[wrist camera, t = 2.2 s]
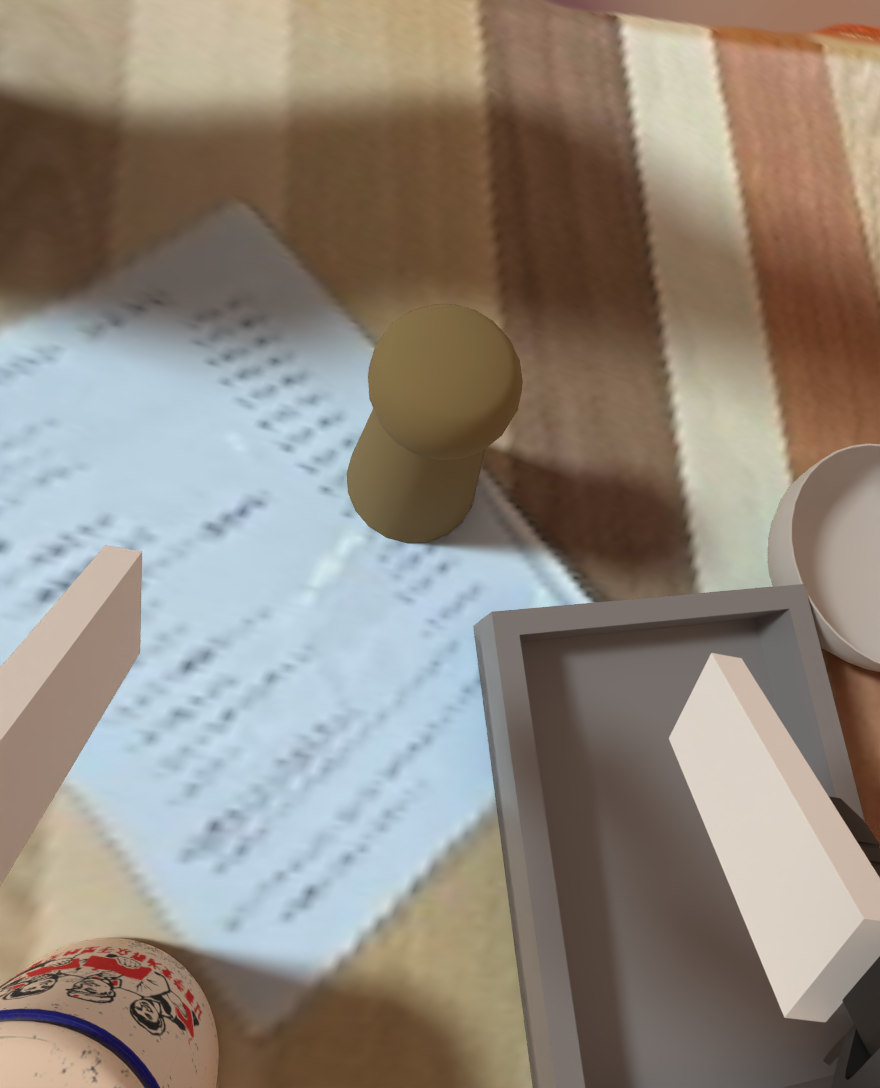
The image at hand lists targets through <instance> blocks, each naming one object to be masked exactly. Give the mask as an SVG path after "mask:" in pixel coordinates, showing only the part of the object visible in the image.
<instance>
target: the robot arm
mask: <svg viewBox="0 0 880 1088" xmlns="http://www.w3.org/2000/svg"><path fill="white" fill-rule="evenodd" d="M141 581H142V552H141V551H135V550H130V549H124V548H118V547H113V546H107V545H105V546H104V547H103V549H102V550H101V551H100V552H99V553H98V554H97V556H96V557H95V558H94V559H93V560H92V561H91V563H90V564H89V565H88V566H87V567H86V568H85V570H84V571H83V572H82V573H81V574H80V575H79V577H78V578H77V579H76V580H75V581H74V582H73V584H72V585H71V586H70V587H69V588H68V589H67V591H66V592H65V593H64V594H63V595H62V596H61V598H60V599H59V600H58V601H57V602H56V603H55V605H54V606H53V607H52V608H51V609H50V610H49V612H48V613H47V614H46V615H45V616H44V617H43V619H42V620H41V621H40V622H39V623H38V624H37V626H36V627H35V628H34V629H33V630H32V631H31V632H30V634H29V635H28V636H27V637H26V638H25V639H24V641H23V642H22V643H21V644H20V645H19V646H18V648H17V649H16V650H15V651H14V652H13V653H12V655H11V656H10V657H9V658H8V659H7V660H6V662H5V663H4V664H3V665H2V666H1V667H0V886H1V884H2V883H3V881H4V879H5V878H6V876H7V874H8V873H9V871H10V869H11V868H12V866H13V864H14V863H15V861H16V859H17V858H18V856H19V854H20V853H21V851H22V849H23V848H24V846H25V844H26V843H27V841H28V839H29V838H30V836H31V834H32V833H33V831H34V829H35V827H36V826H37V824H38V822H39V821H40V819H41V817H42V816H43V814H44V812H45V811H46V809H47V807H48V806H49V804H50V802H51V801H52V799H53V797H54V796H55V794H56V792H57V791H58V789H59V787H60V786H61V784H62V782H63V781H64V779H65V777H66V776H67V774H68V772H69V771H70V769H71V767H72V766H73V764H74V762H75V761H76V759H77V757H78V756H79V754H80V752H81V751H82V749H83V747H84V746H85V744H86V742H87V741H88V739H89V737H90V736H91V734H92V732H93V731H94V729H95V727H96V726H97V724H98V722H99V720H100V719H101V717H102V715H103V714H104V712H105V710H106V709H107V707H108V705H109V704H110V702H111V700H112V699H113V697H114V695H115V694H116V692H117V690H118V689H119V687H120V685H121V684H122V682H123V680H124V679H125V677H126V675H127V674H128V672H129V670H130V669H131V667H132V665H133V664H134V662H135V660H136V659H137V657H138V655H139V654H140V630H141ZM669 740H670V743H671V745H672V748H673V750H674V752H675V755H676V757H677V760H678V762H679V764H680V767H681V769H682V772H683V774H684V777H685V779H686V781H687V784H688V786H689V789H690V791H691V793H692V796H693V798H694V801H695V803H696V805H697V808H698V810H699V813H700V815H701V818H702V820H703V822H704V825H705V827H706V830H707V832H708V834H709V837H710V839H711V842H712V844H713V846H714V849H715V851H716V854H717V856H718V859H719V861H720V863H721V866H722V868H723V871H724V873H725V875H726V878H727V880H728V883H729V885H730V887H731V890H732V892H733V895H734V897H735V900H736V902H737V904H738V907H739V909H740V912H741V914H742V916H743V919H744V921H745V924H746V926H747V929H748V931H749V933H750V936H751V938H752V941H753V943H754V945H755V948H756V950H757V953H758V955H759V957H760V960H761V962H762V965H763V967H764V970H765V972H766V974H767V977H768V979H769V982H770V984H771V986H772V989H773V991H774V994H775V996H776V998H777V1001H778V1003H779V1006H780V1008H781V1011H782V1013H783V1015H784V1018H791V1019H800V1020H808V1021H817V1022H826V1021H827V1020H828V1019H829V1018H830V1017H831V1015H832V1014H833V1013H834V1012H835V1011H836V1010H837V1009H838V1007H839V1006H840V1005H841V1004H842V1003H844V1005H845V1007H846V1009H847V1011H848V1013H849V1015H850V1017H851V1019H852V1021H853V1023H854V1024H853V1025H852V1026H851V1027H850V1028H849V1030H848V1031H847V1032H846V1033H845V1034H844V1035H843V1036H842V1037H841V1038H840V1040H839V1041H838V1042H837V1043H836V1044H835V1045H834V1046H833V1047H832V1049H831V1050H830V1051H829V1052H828V1053H827V1055H826V1056H825V1058H824V1059H823V1061H824V1062H825V1063H827V1064H828V1065H829V1066H830V1065H831V1063H832V1062H833V1061H834V1060H835V1059H836V1058H839V1059H838V1063H837V1067H836V1071H835V1074H834V1078H833V1082H832V1086H831V1088H880V848H879V845H880V844H879V843H878V841H877V840H876V838H875V837H874V835H873V834H872V832H871V831H870V829H869V828H868V826H867V825H866V823H865V822H864V820H863V819H862V818H861V817H860V816H859V815H858V814H856V813H855V812H854V811H853V810H852V809H851V808H850V807H849V806H848V805H847V804H846V803H845V802H844V801H843V800H842V799H841V798H836V797H830V796H828V795H827V793H826V792H825V790H824V789H823V787H822V785H821V784H820V782H819V781H818V779H817V777H816V776H815V774H814V773H813V771H812V770H811V768H810V766H809V765H808V763H807V762H806V760H805V758H804V757H803V755H802V754H801V752H800V750H799V749H798V747H797V746H796V744H795V743H794V741H793V739H792V738H791V736H790V735H789V733H788V731H787V730H786V728H785V727H784V725H783V723H782V722H781V720H780V719H779V717H778V716H777V714H776V712H775V711H774V709H773V708H772V706H771V704H770V703H769V701H768V700H767V698H766V696H765V695H764V693H763V692H762V690H761V689H760V687H759V685H758V684H757V682H756V681H755V679H754V677H753V676H752V674H751V673H750V671H749V669H748V668H747V666H746V665H745V663H744V662H743V660H742V658H737V657H732V656H726V655H720V654H715V653H711V654H710V656H709V658H708V661H707V663H706V665H705V667H704V669H703V671H702V673H701V675H700V677H699V679H698V681H697V683H696V685H695V687H694V689H693V691H692V693H691V695H690V697H689V699H688V701H687V703H686V705H685V707H684V709H683V711H682V713H681V715H680V717H679V719H678V721H677V723H676V725H675V727H674V729H673V731H672V733H671V735H670V737H669Z"/></svg>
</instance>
